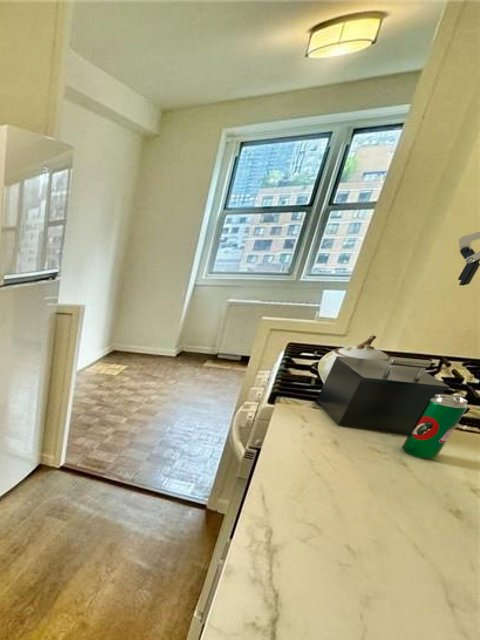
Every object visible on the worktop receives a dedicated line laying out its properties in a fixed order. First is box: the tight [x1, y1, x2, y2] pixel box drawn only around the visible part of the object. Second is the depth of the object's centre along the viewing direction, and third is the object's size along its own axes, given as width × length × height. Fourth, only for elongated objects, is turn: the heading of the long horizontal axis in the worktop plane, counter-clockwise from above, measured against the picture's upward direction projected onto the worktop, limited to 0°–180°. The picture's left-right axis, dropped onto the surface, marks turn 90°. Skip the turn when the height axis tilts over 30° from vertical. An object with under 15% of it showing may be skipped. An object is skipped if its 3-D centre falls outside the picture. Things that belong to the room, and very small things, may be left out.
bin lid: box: [336, 356, 450, 391], centre depth 105 cm, size 16×14×5 cm
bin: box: [315, 360, 446, 436], centre depth 109 cm, size 16×14×11 cm
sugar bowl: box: [317, 334, 393, 384], centre depth 123 cm, size 20×15×15 cm
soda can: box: [401, 393, 469, 460], centre depth 94 cm, size 5×5×12 cm
